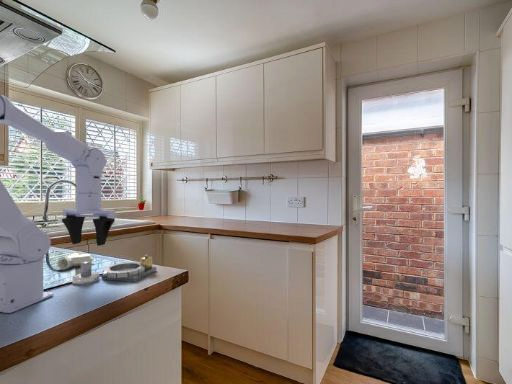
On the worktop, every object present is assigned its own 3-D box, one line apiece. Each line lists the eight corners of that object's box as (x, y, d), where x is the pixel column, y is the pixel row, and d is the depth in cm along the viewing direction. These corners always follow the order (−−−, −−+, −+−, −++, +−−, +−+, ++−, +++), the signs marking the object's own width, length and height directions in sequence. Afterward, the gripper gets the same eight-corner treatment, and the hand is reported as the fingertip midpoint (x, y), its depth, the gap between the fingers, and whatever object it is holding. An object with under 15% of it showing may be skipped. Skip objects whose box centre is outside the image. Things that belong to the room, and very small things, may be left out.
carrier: (132, 283, 72) (132, 264, 71) (94, 280, 74) (94, 261, 74) (156, 270, 82) (156, 253, 82) (122, 268, 85) (122, 251, 85)
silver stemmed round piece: (86, 286, 70) (86, 266, 70) (66, 284, 71) (66, 264, 71) (104, 278, 76) (104, 260, 76) (85, 276, 77) (85, 258, 77)
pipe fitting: (95, 264, 91) (74, 262, 91) (96, 252, 91) (75, 250, 91) (79, 271, 83) (56, 269, 83) (80, 258, 83) (58, 256, 83)
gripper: (123, 193, 77) (122, 242, 77) (77, 192, 80) (77, 240, 80) (104, 193, 70) (104, 248, 70) (55, 192, 73) (55, 245, 73)
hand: (88, 244), depth 74 cm, fingers open, 7 cm apart
